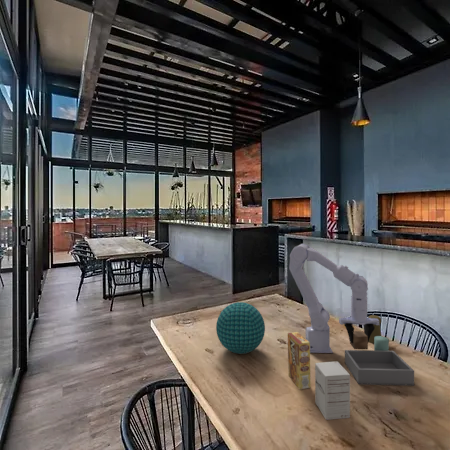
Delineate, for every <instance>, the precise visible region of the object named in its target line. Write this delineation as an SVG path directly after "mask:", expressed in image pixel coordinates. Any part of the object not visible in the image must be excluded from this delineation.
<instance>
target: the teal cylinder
mask: <svg viewBox="0 0 450 450" xmlns="http://www.w3.org/2000/svg"><path fill="white" fill-rule="evenodd" d="M389 342H390V339H389V338H388V337H386V336H382V335H381V336H375V337H374V344H373V347H374V348H373V350H378V351H390V350H389V349H390V345H389V344H390V343H389Z"/></svg>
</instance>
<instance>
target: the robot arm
mask: <svg viewBox="0 0 450 450" xmlns="http://www.w3.org/2000/svg"><path fill="white" fill-rule="evenodd" d="M305 262H316V263H317V264H319V265H320V266H322V267H323V268H325V269H327V270H329V271H330V272H332V274H333V277H334V278H335V279H336V280H338V281H339V282H341V283H342V284H344V285H346V286H347V287H350V290H351V296H350V297H351V299H350V301H351V302H350V316H348V317H347V316H345V317H338V318H339V319H338V323H339V324H340V325H344V326H345V329H346V331H347V335H348V340H349V343H350V342H351V343H353V333H354V331H355V327H354V325H362V326H363V332H364V333H365V334H366V335H367V336H368V341H369V338H370V336H371V334H372V332H373V331H374V329H375V327H374V326H373V324H376V325H379V320H378V319H375V318H368V290H369V287H368V284H369V283H368V281H367V280H366V278H365V277H364V276H363V275H360V274H359V273H355V272H353V271H352V270H351V269H349V266H347V265H343V264H336V263H335V262H333V261H332V260H330V259H329V258H327V257H326V256H325V255H323V254H322V253H321V252H320V251H318V250H316V249H315V248H314V247H311V246H310V245H308V244H306V243H300V244H298V245H296V246H294V247H293V249H292V250H291V252H290V254H289V266H288V267H289V272H290V274H291V276H292V278H293V279H294V282H295V284H296V286H297V288H298V291H300V294H301V297H302V298H303V300H304V302H305V304H306V307H307V309H308V310H307V311H308V315H309V318H310V325H311V326H307V327H305V339H306V340H308V341H309V342H310V354H312V353H314V354H319V353H320V354H321V353H322V354H333V353H334V352H333V350H332V347H331V345H330V340H331V338H330V337H331V336H330V335H331V333H330V331H331V330H330V328H331V327H330V325H329V321H330V318H331V316H330V313H329V312H328V310H326V309H325V307H324V306H323V304H322V303H321V302H320V301H319V299H318V297H317V295H316V293H315V291H314V289H313V287H312V285H311V283H310V281H309V279H308V277H307V274H306V273H305V270H304V269H303V267H304V265H305Z"/></svg>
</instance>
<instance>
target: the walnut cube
mask: <svg viewBox="0 0 450 450" xmlns="http://www.w3.org/2000/svg"><path fill="white" fill-rule="evenodd" d="M349 344H350V345H351V347H352V348H353V350H369V342H368V336H367V335H366V334H365V333H364V330H363V331H361V330H357V331H356V330H354V333H353V343H351V342H350V341H349Z"/></svg>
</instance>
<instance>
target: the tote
mask: <svg viewBox="0 0 450 450" xmlns="http://www.w3.org/2000/svg"><path fill="white" fill-rule="evenodd" d="M344 364H345V366H346V368H348V370H349V371H350V373H351V374H350V375H352V376H353V378H354V380H355V381H356V383H357V384H358V385H366V386H367V385H368V386H369V385H370V386H372V385H373V386H374V385H376V386H407V387H409V386H412V387H413V386H415V370H414V369H413V367H411V366H410V365H409V364H408V363H407V362H406V361H405V360H404V359H403V358H402V357H401V356H400V355H398V353H396V351H394V350H389V351H378V350H374V349H373V350H369V349H344Z"/></svg>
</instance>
